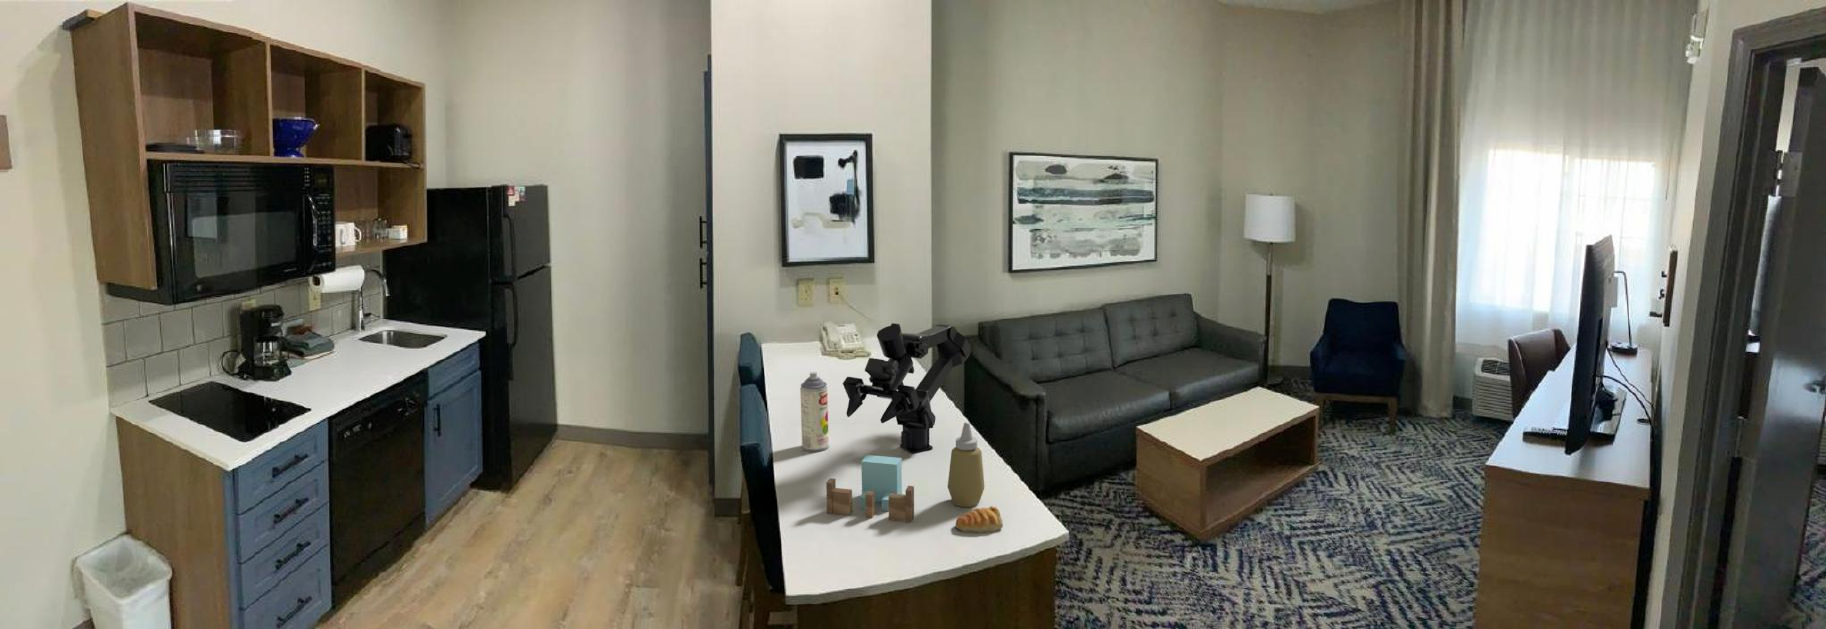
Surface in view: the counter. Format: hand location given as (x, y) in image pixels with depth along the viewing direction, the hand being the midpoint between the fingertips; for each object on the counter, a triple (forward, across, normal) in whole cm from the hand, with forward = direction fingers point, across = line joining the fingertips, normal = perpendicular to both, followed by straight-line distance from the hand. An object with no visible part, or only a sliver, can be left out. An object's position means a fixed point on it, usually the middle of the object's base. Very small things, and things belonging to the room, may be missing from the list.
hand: (864, 418), depth 188 cm
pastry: (+15, +33, +10) cm, 38 cm away
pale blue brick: (+15, +9, +9) cm, 19 cm away
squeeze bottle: (+7, +26, +14) cm, 30 cm away
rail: (+21, +11, +6) cm, 24 cm away
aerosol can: (-3, -23, +19) cm, 30 cm away
